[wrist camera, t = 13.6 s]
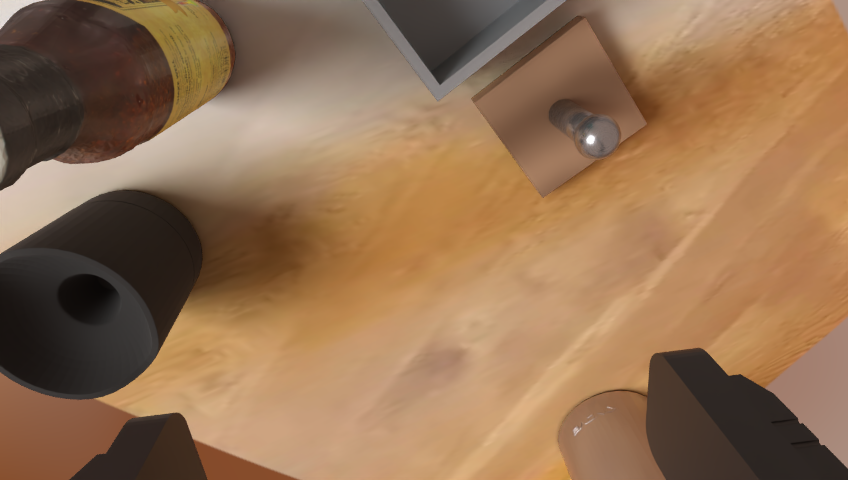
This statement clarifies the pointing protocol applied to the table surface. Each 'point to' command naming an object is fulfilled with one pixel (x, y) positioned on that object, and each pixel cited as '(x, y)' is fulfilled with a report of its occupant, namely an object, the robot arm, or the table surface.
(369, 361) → the table surface
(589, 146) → the ball stud
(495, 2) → the bin
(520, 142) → the base
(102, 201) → the pen holder
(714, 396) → the robot arm
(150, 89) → the sauce bottle
